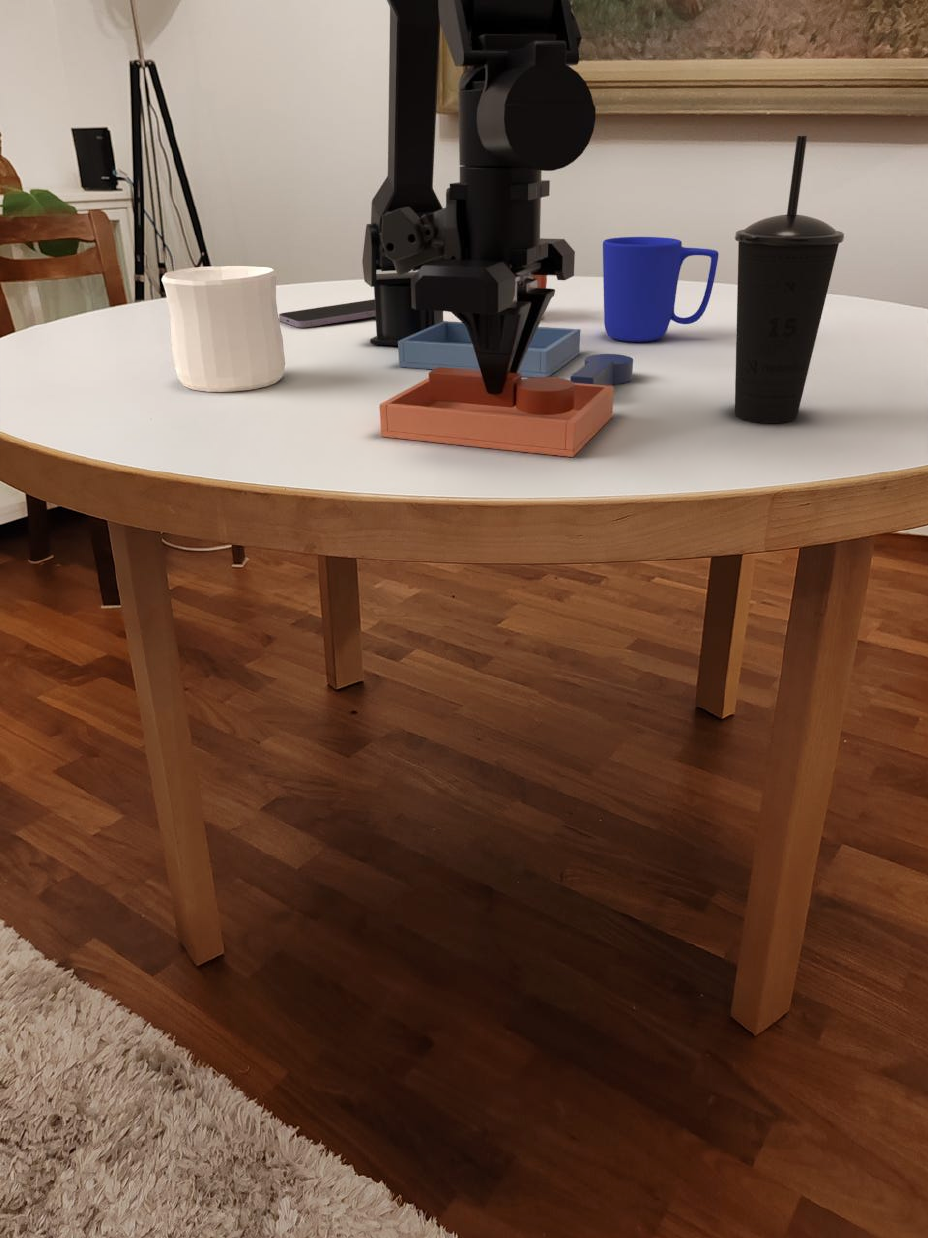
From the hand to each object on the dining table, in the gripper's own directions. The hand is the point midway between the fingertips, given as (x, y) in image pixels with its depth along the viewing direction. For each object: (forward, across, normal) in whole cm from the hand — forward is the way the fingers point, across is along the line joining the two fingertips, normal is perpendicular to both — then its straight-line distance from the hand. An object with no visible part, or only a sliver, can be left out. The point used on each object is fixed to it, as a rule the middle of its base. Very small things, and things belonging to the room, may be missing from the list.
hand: (499, 390), depth 73 cm
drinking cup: (+3, -10, +19) cm, 22 cm away
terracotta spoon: (+1, 0, 0) cm, 1 cm away
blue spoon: (+3, -15, +4) cm, 16 cm away
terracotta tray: (+3, 0, 0) cm, 3 cm away
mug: (+3, -38, +4) cm, 38 cm away
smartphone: (+3, -39, -35) cm, 52 cm away
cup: (+3, -6, -29) cm, 30 cm away
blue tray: (+3, -22, -9) cm, 24 cm away
